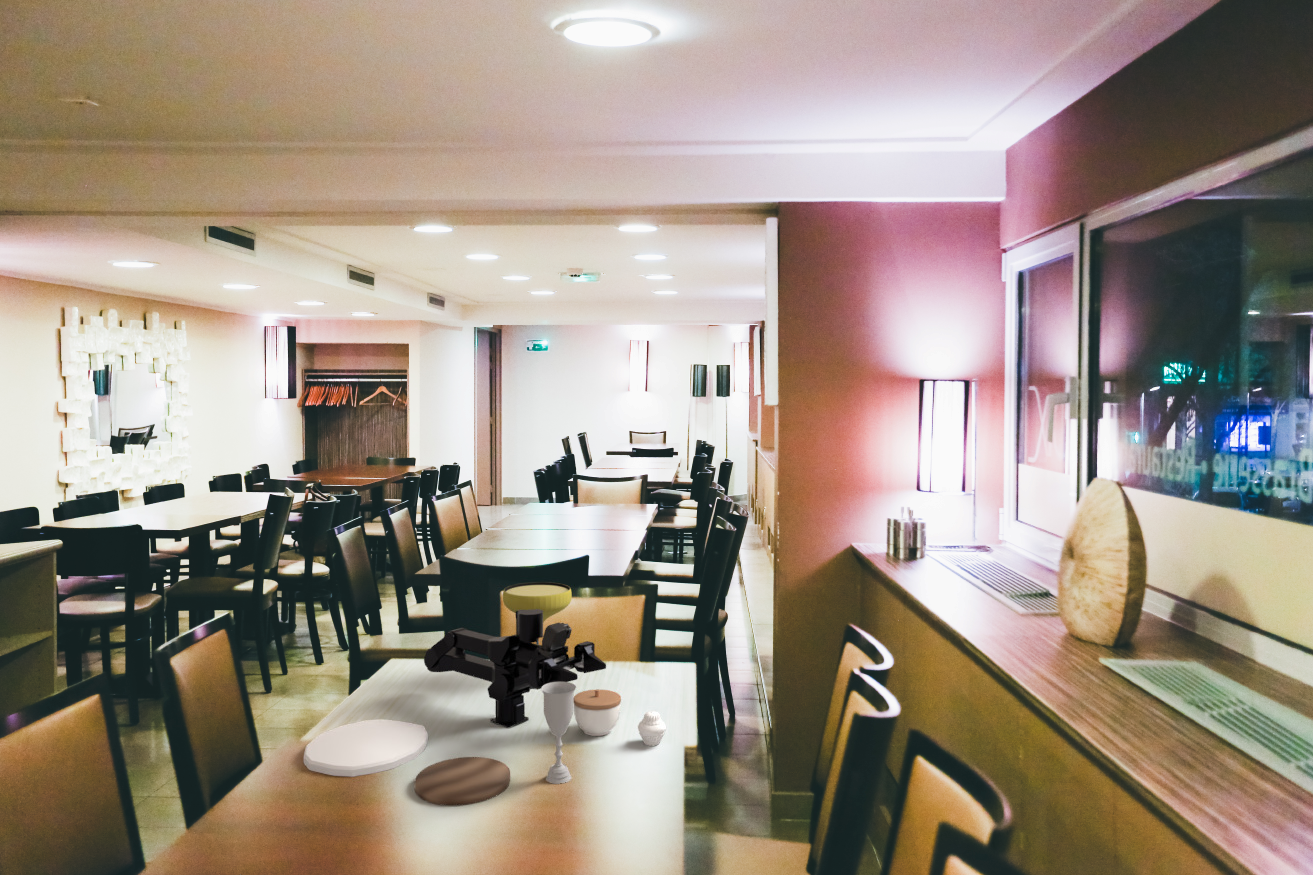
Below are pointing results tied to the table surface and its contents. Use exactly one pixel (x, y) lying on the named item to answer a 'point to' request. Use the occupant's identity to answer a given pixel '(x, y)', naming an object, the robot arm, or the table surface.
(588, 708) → the lidded jar
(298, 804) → the table surface
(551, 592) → the cocktail glass
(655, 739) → the muffin
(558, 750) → the chalice
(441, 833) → the table surface
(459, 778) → the serving board
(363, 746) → the decorative plate
